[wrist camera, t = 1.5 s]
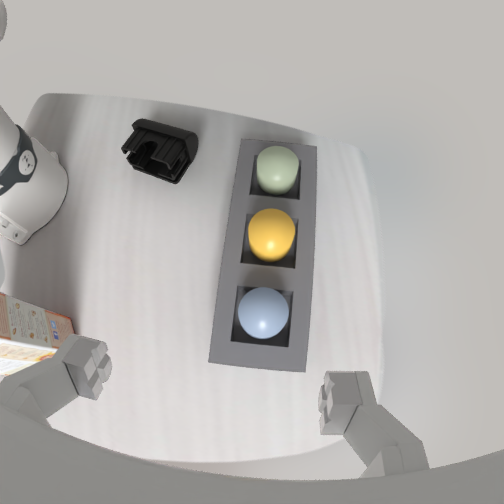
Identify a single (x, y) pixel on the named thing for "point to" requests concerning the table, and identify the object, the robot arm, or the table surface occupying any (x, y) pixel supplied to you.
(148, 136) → the end cap
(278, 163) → the sage button
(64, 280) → the table surface
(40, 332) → the cracker box
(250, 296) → the slate button
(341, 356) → the table surface
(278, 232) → the amber button
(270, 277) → the button console
